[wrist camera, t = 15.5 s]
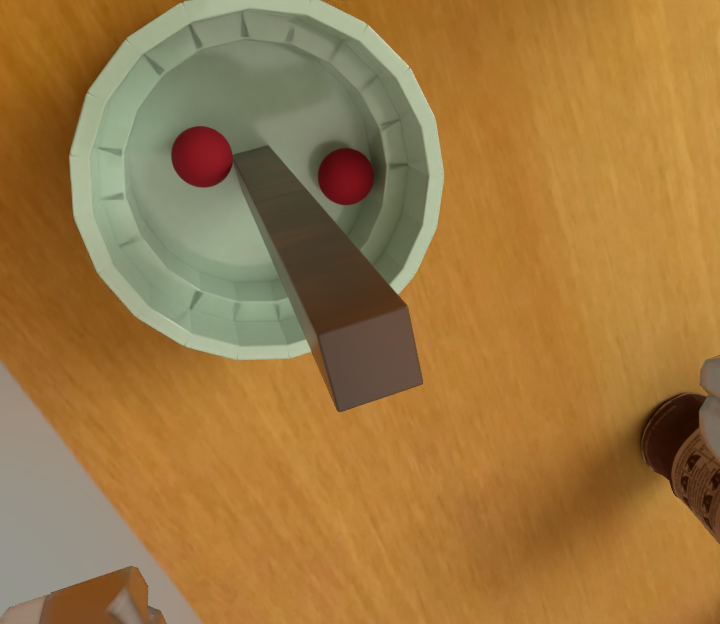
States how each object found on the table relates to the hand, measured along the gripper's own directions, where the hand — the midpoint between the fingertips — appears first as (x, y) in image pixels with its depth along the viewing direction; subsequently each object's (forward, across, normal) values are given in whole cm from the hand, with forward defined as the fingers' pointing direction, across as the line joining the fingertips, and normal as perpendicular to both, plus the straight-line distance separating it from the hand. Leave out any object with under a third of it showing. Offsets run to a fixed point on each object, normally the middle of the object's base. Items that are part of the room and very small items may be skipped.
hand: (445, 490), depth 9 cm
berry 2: (+22, -4, +1) cm, 23 cm away
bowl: (+24, 0, 0) cm, 25 cm away
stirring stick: (+24, 0, 0) cm, 24 cm away
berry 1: (+23, +2, -1) cm, 23 cm away
